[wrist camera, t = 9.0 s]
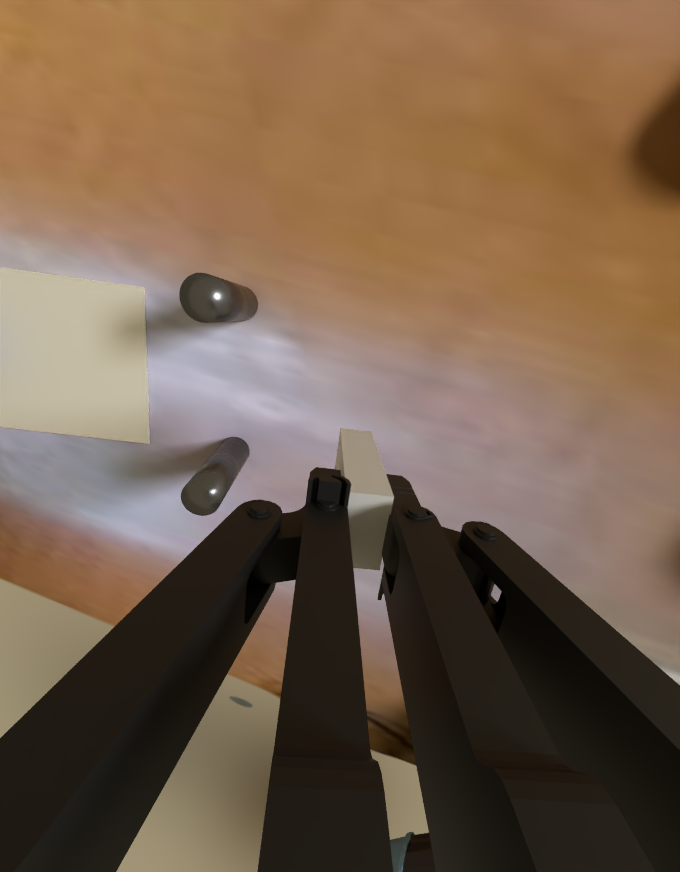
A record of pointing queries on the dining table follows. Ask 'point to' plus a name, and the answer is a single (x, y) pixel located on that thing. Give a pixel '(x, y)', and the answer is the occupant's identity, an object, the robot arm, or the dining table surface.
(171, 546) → the dining table surface
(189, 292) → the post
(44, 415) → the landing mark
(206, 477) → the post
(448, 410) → the dining table surface
